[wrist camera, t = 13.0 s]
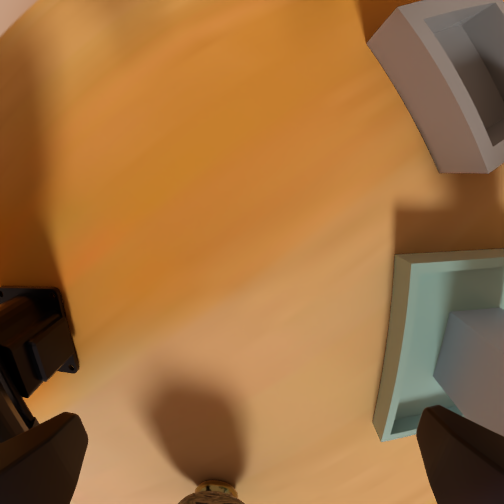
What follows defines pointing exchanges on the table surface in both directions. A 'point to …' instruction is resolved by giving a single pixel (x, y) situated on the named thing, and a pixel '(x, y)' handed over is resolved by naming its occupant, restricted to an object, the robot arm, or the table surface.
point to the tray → (428, 329)
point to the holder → (450, 77)
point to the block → (474, 365)
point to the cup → (213, 494)
